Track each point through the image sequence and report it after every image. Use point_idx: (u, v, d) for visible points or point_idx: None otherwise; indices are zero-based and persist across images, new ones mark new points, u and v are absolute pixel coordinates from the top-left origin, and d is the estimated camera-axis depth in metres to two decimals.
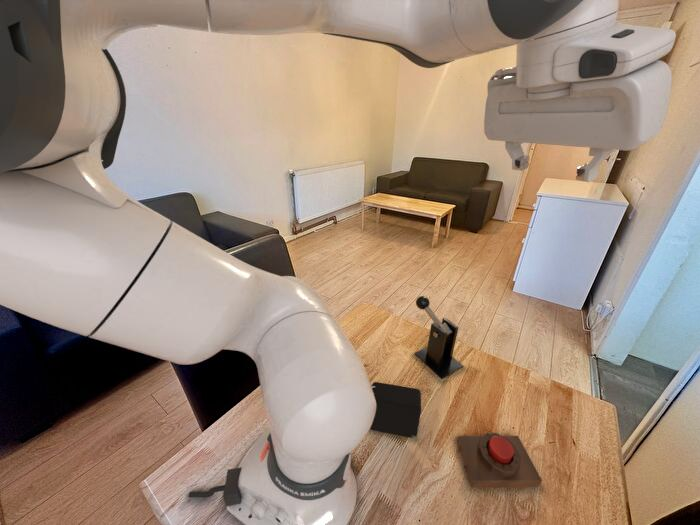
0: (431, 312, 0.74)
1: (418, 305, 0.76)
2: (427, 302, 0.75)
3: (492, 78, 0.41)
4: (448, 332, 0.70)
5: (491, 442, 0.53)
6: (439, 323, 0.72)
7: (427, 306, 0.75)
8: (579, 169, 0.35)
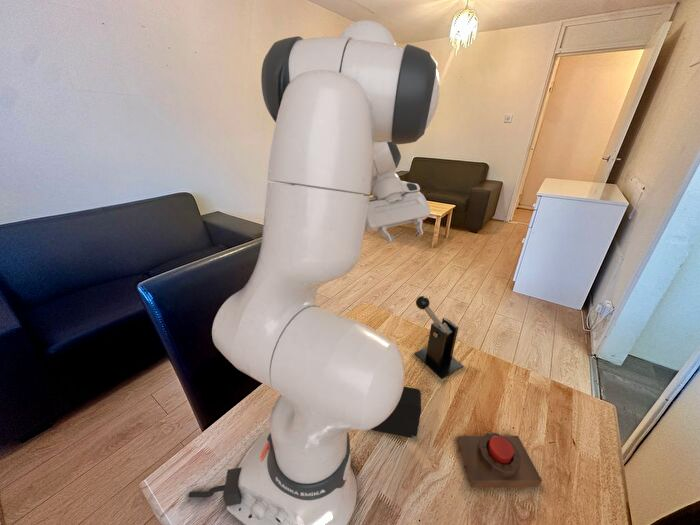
0: (431, 312, 0.74)
1: (418, 305, 0.76)
2: (427, 302, 0.75)
3: None
4: (448, 332, 0.70)
5: (491, 442, 0.53)
6: (439, 323, 0.72)
7: (427, 306, 0.75)
8: (418, 228, 0.79)
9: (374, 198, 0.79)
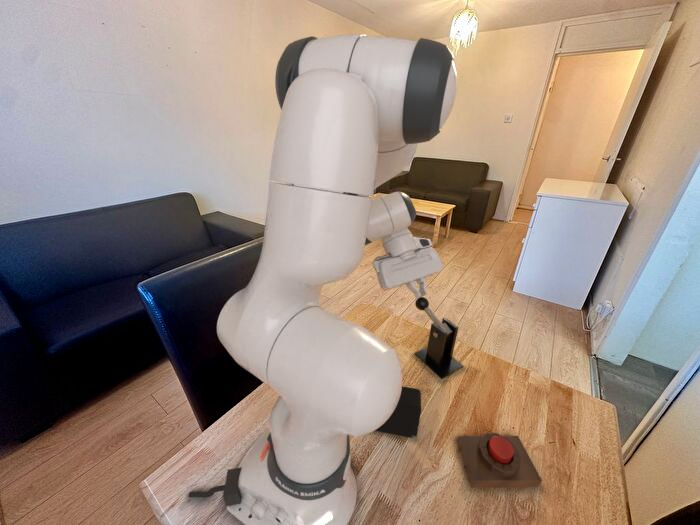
0: (431, 312, 0.74)
1: (417, 306, 0.76)
2: (426, 303, 0.75)
3: (375, 261, 0.75)
4: (448, 332, 0.70)
5: (491, 442, 0.53)
6: (439, 323, 0.73)
7: (426, 307, 0.75)
8: (422, 289, 0.76)
9: (388, 255, 0.76)
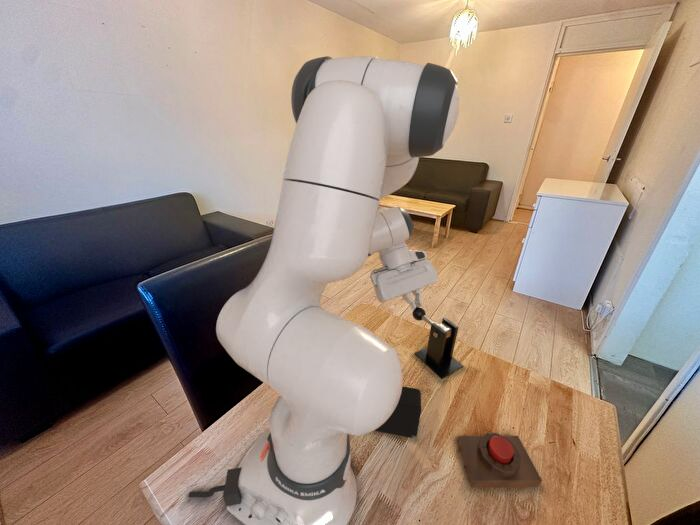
0: (428, 318, 0.76)
1: (415, 316, 0.78)
2: (422, 311, 0.78)
3: (372, 273, 0.77)
4: (447, 329, 0.70)
5: (491, 442, 0.53)
6: None
7: (423, 314, 0.77)
8: (417, 301, 0.79)
9: (385, 268, 0.79)
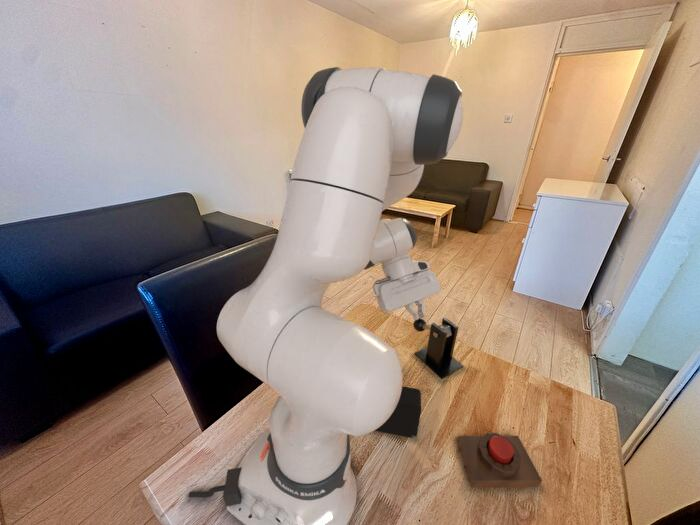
0: (428, 325, 0.77)
1: (415, 327, 0.79)
2: (421, 320, 0.79)
3: (374, 284, 0.77)
4: (445, 327, 0.71)
5: (491, 442, 0.53)
6: None
7: (423, 323, 0.78)
8: (420, 311, 0.79)
9: (387, 278, 0.79)
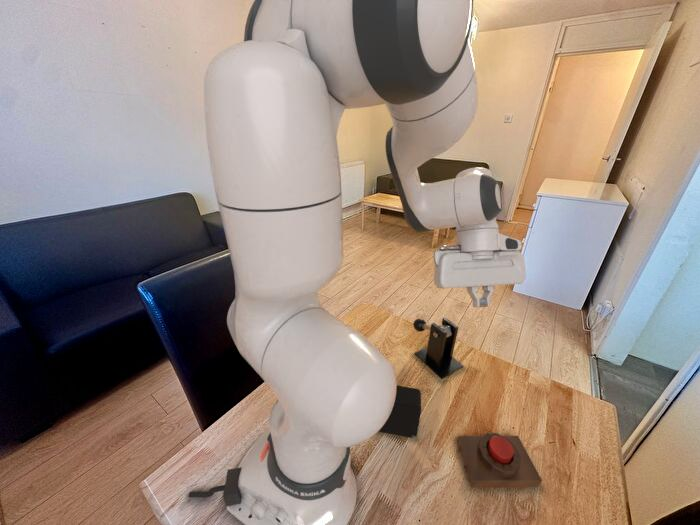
0: (428, 325, 0.77)
1: (415, 327, 0.79)
2: (421, 320, 0.79)
3: (437, 250, 0.61)
4: (445, 327, 0.71)
5: (491, 442, 0.53)
6: None
7: (423, 323, 0.78)
8: (484, 299, 0.62)
9: (457, 247, 0.61)
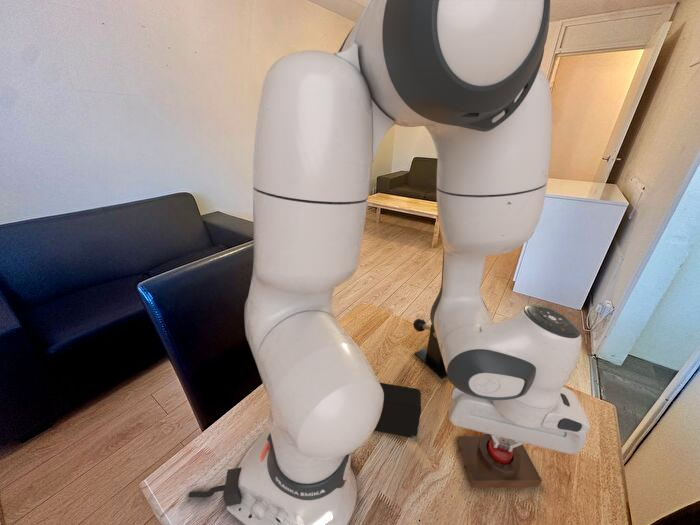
0: (428, 325, 0.77)
1: (415, 327, 0.79)
2: (421, 320, 0.79)
3: None
4: None
5: (491, 443, 0.53)
6: None
7: (423, 323, 0.78)
8: (506, 446, 0.51)
9: None
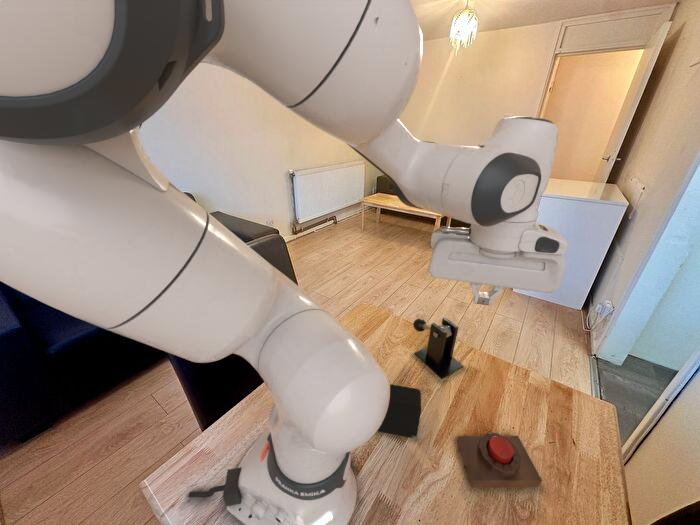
0: (428, 325, 0.77)
1: (415, 327, 0.79)
2: (421, 320, 0.79)
3: (437, 231, 0.48)
4: (445, 327, 0.71)
5: (491, 442, 0.53)
6: None
7: (423, 323, 0.78)
8: (486, 298, 0.50)
9: (464, 232, 0.46)
